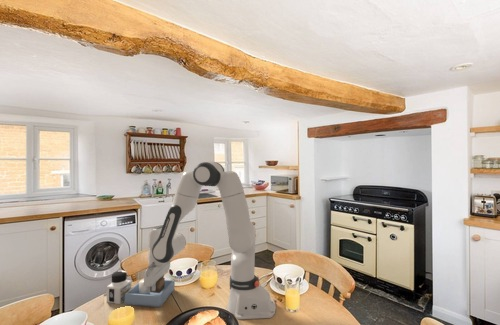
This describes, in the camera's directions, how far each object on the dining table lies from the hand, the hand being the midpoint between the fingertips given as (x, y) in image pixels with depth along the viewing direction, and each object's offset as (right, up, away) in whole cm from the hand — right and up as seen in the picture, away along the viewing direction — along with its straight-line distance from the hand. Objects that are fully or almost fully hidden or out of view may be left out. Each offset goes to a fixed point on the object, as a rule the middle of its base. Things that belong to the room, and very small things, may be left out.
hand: (157, 286), depth 120 cm
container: (-18, -5, -2) cm, 19 cm away
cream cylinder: (-7, -5, +1) cm, 8 cm away
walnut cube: (0, -2, 0) cm, 2 cm away
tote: (-3, -5, 0) cm, 6 cm away
